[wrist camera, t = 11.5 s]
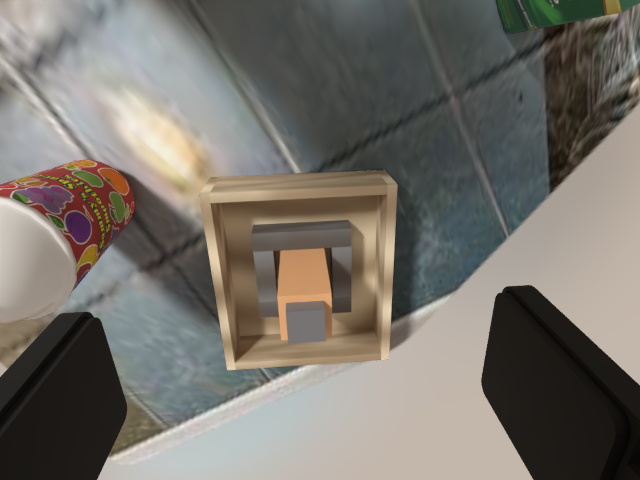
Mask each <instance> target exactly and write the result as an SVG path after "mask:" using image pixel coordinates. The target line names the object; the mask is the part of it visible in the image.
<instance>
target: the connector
mask: <svg viewBox="0 0 640 480" xmlns="http://www.w3.org/2000/svg"><path fill="white" fill-rule="evenodd" d="M277 299H278V311H279V322H280V333H281V341H282V340H288V344H292V343H308V342H323V341H326V338H329V337H332V293H331V287H330V281H329V275H328V269H327V263H326V257H325V251H324V248H317V249H299V250H281V251H280V265H279V279H278V293H277Z"/></svg>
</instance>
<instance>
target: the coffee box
mask: <svg viewBox="0 0 640 480" xmlns="http://www.w3.org/2000/svg"><path fill="white" fill-rule="evenodd" d="M496 3H497V7H498V12H499V15H500V18H501V20H502V23H503V27H504V31H505V34H509V33H518V32H523V31H527V30H534V29H540V28H544V27H549V26H555V25H560V24H565V23H570V22H576V21H581V20H586V19H591V18H596V17H601V16H605V15H611V14H617V13H621V12H624V11H626V10H628V9H629V8H631V7H633V6H635V5H637V4H638V3H640V0H496Z"/></svg>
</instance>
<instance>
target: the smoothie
mask: <svg viewBox="0 0 640 480" xmlns="http://www.w3.org/2000/svg"><path fill="white" fill-rule="evenodd" d="M134 204H135V199H134V196H133V193H132V189H131V186H130V184H129V183H128V181H127V180H126V179H125V177H124V176H123V175H122V174H120V173H119V172H118V171H117V170H116V169H114V168H112V167H110V166H108V165H106V164H104V163H102V162H98V161H92V160H80V161H74V162H71V163H68V164H65V165H61V166H58V167H55V168H52V169H49V170H46V171H42V172H39V173H36V174H33V175H30V176H27V177H23V178H20V179H17V180H14V181H11V182H8V183H4V184H1V185H0V324H2V323H13V322H18V321H22V320H28V319H38V318H40V317H42V316H45V315H47V314H50V313H52V312H55V311H56V310H57V309H58V308H59V307H60V306H61V305H63V304H64V303H65V302H66V301H67V300H68V299H69V297H70V295H71V293H72V291H73V290H74V289H75V288H76V287H77V285H78V284H79V283H80V282H81V280H82V279H83V278H84V277H85V276H86V274H87V273H88V272H89V271H90V269H91V268H92V267H93V266H94V264H95V263H96V262H97V261H98V259H99V258H100V257H101V256H102V254H103V253H104V252H105V251H106V250H107V248H108V247H109V246H110V245H111V243H112V242H113V241H114V240H115V238H116V237H117V236H118V235H119V233H120V232H121V231H122V230H123V228H124V227H125V226H126V225H127V224H128V222H129V221H130V220H131V217H132V215H133V213H134Z"/></svg>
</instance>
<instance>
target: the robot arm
mask: <svg viewBox="0 0 640 480" xmlns="http://www.w3.org/2000/svg"><path fill="white" fill-rule="evenodd" d="M481 380H482V381H481V382H482V388H483V392H484V394H485V396H486V398H487V400H488V401H489V403H490V405H491V407H492V408H493V410H494V412H495V414H496V415H497V417H498V419H499V421H500V422H501V424H502V426H503V427H504V429H505V431H506V433H507V434H508V436H509V438H510V440H511V441H512V443H513V445H514V447H515V448H516V450H517V452H518V454H519V455H520V457H521V459H522V460H523V462H524V464H525V466H526V467H527V469H528V471H529V473H530V474H531V476H532V478H533V479H534V480H640V385H639V384H638V383H637V382H635V381H634V380H633V379H632V378H631V377H630V376H629V375H628V374H627V373H626V372H625V371H624V370H622V369H621V368H620V367H619V366H618V365H617V364H616V363H615V362H614V361H613V360H612V359H611V358H610V357H609V356H608V355H606V354H605V353H604V352H603V351H602V350H601V349H600V348H599V347H598V346H597V345H596V344H595V343H594V342H593V341H591V340H590V339H589V338H588V337H587V336H586V335H585V334H584V333H583V332H582V331H581V330H580V329H579V328H578V327H576V326H575V325H574V324H573V323H572V322H571V321H570V320H569V319H568V318H567V317H565V315H564V314H563V313H561V312H560V311H559V310H558V309H557V308H556V307H555V306H554V305H553V304H552V303H551V302H550V301H549V300H548V299H546V298H545V297H544V296H543V295H542V294H541V293H540V292H539V291H538V290H537V289H536V288H535V287H533V286H531V285H525V286H509V287H505V288H504V289H503V291H502V293H498V294H497V296H496V298H495V303H494V309H493V315H492V321H491V326H490V332H489V338H488V344H487V350H486V356H485V361H484V367H483V373H482V379H481ZM126 414H127V404H126V400H125V397H124V394H123V390H122V387H121V384H120V381H119V377H118V374H117V371H116V368H115V364H114V361H113V358H112V355H111V352H110V348H109V345H108V342H107V339H106V335H105V332H104V329H103V326H102V323H101V320H100V319H99V318H94V317H93V315H92V314H91V313H90V312H75V313H62V314H60V315H58V316H57V317H56V318H55V319H54V320H53V321H52V322H51V323H50V324H49V325H48V327H47V328H46V329H45V330H44V331H43V332H42V333H41V334H40V335H39V336H38V337H37V338H36V339H35V340H34V342H33V343H32V344H31V345H30V346H29V347H28V348H27V349H26V350H25V351H24V352H23V353H22V354H21V355H20V357H19V358H18V359H17V360H16V361H15V362H14V363H13V364H12V365H11V366H10V367H9V368H8V369H7V370H6V372H5V373H4V374H3V375H2V376H1V377H0V480H97V478H98V476H99V474H100V472H101V470H102V468H103V466H104V463H105V462H106V459H107V457H108V455H109V453H110V451H111V449H112V447H113V445H114V442H115V440H116V438H117V436H118V434H119V432H120V430H121V428H122V426H123V423H124V421H125V419H126Z"/></svg>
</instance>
